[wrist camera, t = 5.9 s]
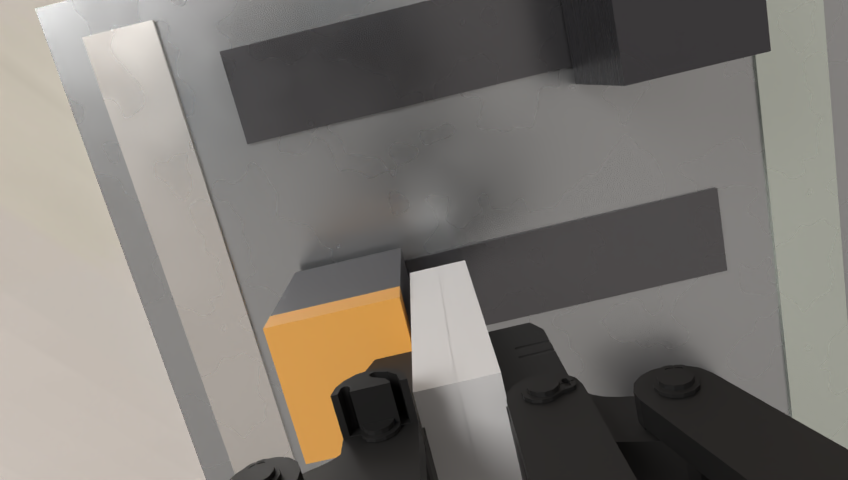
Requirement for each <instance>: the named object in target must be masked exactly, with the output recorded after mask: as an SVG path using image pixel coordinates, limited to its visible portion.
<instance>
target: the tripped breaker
mask: <svg viewBox="0 0 848 480" xmlns="http://www.w3.org/2000/svg"><path fill="white" fill-rule="evenodd" d="M263 331H264V334H265V337H266V340H267V343H268V346H269V350H270V353H271V356H272V359H273V362H274V365H275V368H276V372H277V375H278V378H279V381H280V384H281V387H282V390H283V394H284V397H285V400H286V403H287V406H288V409H289V412H290V416H291V419H292V422H293V425H294V428H295V431H296V435H297V438H298V441H299V444H300V447H301V450H302V453H303V457H304V460H305V463H306V464H310V463H314V462H319V461H323V460H328V459H332V458H336V457H337V456H339V455H340V454H341V449H342V443H343V436H342V433H341V430H340V427H339V423H338V420H337V417H336V413H335V410H334V407H333V403H332V400H331V397H330V396H331V394H332V392H333V391H334V389H335V388H336V387H337V386H338V385H340V384H341V383H342V382H343V381H344V380H346V379H348V378H350V377H352V376H354V375H356V374H359V373H362V372H365V371H366V370H367V369H368V367H369V366H370V365H371V364H372V363H373V361H374V360H376V359H380V358H384V357H389V356H393V355H397V354H402V353H406V352H410V351H412V341H411V302H410V281H409V277H408V273H407V269H406V265H405V261H404V257H403V253H402V249H401V248H398V249H393V250H389V251H385V252H381V253H376V254H372V255H368V256H363V257H359V258H355V259H351V260H346V261H342V262H338V263H333V264H329V265H325V266H321V267H316V268H312V269H308V270H304V271H299V272H295V274H294V276H293V277H292V279H291V281H290V283H289V284H288V286H287V288H286V290H285V291H284V293H283V295H282V296H281V298H280V300H279V302H278V303H277V305H276V307H275V309H274V310H273V312H272V314H271V316H270V317H269V319H268V321H267V323H266V324H265V326H264V328H263Z"/></svg>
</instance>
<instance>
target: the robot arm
mask: <svg viewBox="0 0 848 480" xmlns="http://www.w3.org/2000/svg"><path fill="white" fill-rule="evenodd" d="M410 302H411V341H412V351H410V352H406V353H402V354H397V355H393V356H389V357H384V358H380V359H376V360H374V361H373V363H372V364H371V365H370V366H369V367H368V369H367V370H366V371H365V372H362V373H359V374H356V375H354V376H352V377H350V378H348V379H346V380H344V381H343V382H342V383H341V384H340V385H338V386H337V387H336V388H335V389H334V391H333V392H332V394H331V396H330V397H331V400H332V403H333V407H334V410H335V413H336V417H337V420H338V423H339V427H340V430H341V433H342V436H343V443H342V449H341V454H340V455H339V456H337V457H336V458H334V459H333V460H331V461H329V462H327V463H325V464H323V465H321V466H319V467H317V468H314V469H312V470H310V471H307V472H305V473H303V474H302V472H301V469H300V466H299V464H298V462H297V461H295V460H293V459H292V458H290V457H274V458H269V459H262V460H259V461H257V462H256V463H255V462H254V463H252V464H249V465H248V466H246V467H245V468H244V469H242V470H241V471H239V472H238V473H236V474H235V475H234V476H233V477H232V478H231V479H230V480H848V449H846V448H845V447H843V446H841V445H839V444H838V443H836V442H834V441H832V440H830V439H829V438H827V437H825V436H823V435H822V434H820V433H818V432H816V431H815V430H813V429H811V428H809V427H808V426H806V425H804V424H802V423H801V422H799V421H797V420H795V419H793V418H792V417H790V416H788V415H786V414H785V413H783V412H781V411H779V410H778V409H776V408H774V407H772V406H771V405H769V404H767V403H765V402H763V401H762V400H760V399H758V398H756V397H755V396H753V395H751V394H749V393H748V392H746V391H744V390H742V389H741V388H739V387H737V386H735V385H734V384H732V383H730V382H728V381H726V380H725V379H723V378H721V377H719V376H718V375H716V374H714V373H712V372H710V371H707V370H705V369H702V368H699V367H693V366H685V365H674V366H672V365H668V366H663V367H661V368H657V369H653V370H650V371H648V372H647V373H645V374H643V375H641V376H640V377H639V378H638V379H637V380H636V381H635V383H634V391H633V392H634V396H625V397H604V396H598V395H592V394H589V393H588V392H587V390H586V389H585V387H584V385H583V384H582V383H581V382H580V381H579V380H578V379H577V378H575V377H573V376H570V375H568V373H567V372H566V370H565V368H564V366H563V364H562V362H561V361H560V359H559V357H558V355H557V353H556V351H554V348H553V346H552V344H551V342H550V341H549V338H548V336H547V335H546V333H545V331H544V329H542V328H540V327H538V326H536V325H534V324H532V323H530V322H529V323H525V324H520V325H516V326H512V327H507V328H503V329H499V330H494V331H490V332H488V330H487V327H486V324H485V321H484V318H483V315H482V312H481V309H480V306H479V302H478V299H477V296H476V293H475V290H474V287H473V284H472V281H471V277H470V274H469V271H468V268H467V265H466V262H465V260H463V261H459V262H455V263H450V264H446V265H442V266H438V267H433V268H429V269H425V270H420V271H416V272H412V273H410Z"/></svg>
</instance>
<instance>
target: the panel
mask: <svg viewBox="0 0 848 480" xmlns="http://www.w3.org/2000/svg"><path fill="white" fill-rule="evenodd" d="M35 10H36V13H37V16H38V19H39V21H40V24H41V27H42V30H43V32H44V35H45V38H46V41H47V43H48V46H49V49H50V52H51V54H52V57H53V60H54V63H55V65H56V68H57V71H58V74H59V76H60V79H61V82H62V85H63V87H64V90H65V93H66V96H67V98H68V101H69V104H70V107H71V109H72V112H73V115H74V118H75V120H76V123H77V126H78V129H79V131H80V134H81V137H82V140H83V142H84V145H85V148H86V150H87V153H88V156H89V159H90V161H91V164H92V167H93V170H94V172H95V175H96V178H97V181H98V183H99V186H100V189H101V192H102V194H103V197H104V200H105V203H106V205H107V208H108V211H109V214H110V216H111V219H112V222H113V225H114V227H115V230H116V233H117V236H118V238H119V241H120V244H121V247H122V249H123V252H124V255H125V258H126V260H127V263H128V266H129V269H130V271H131V274H132V277H133V280H134V282H135V285H136V288H137V291H138V293H139V296H140V299H141V302H142V304H143V307H144V310H145V313H146V315H147V318H148V321H149V324H150V326H151V329H152V332H153V335H154V337H155V340H156V343H157V346H158V348H159V351H160V354H161V357H162V359H163V362H164V365H165V368H166V370H167V373H168V376H169V379H170V381H171V384H172V387H173V390H174V392H175V395H176V398H177V401H178V403H179V406H180V409H181V412H182V414H183V417H184V420H185V423H186V425H187V428H188V431H189V434H190V436H191V439H192V442H193V445H194V447H195V450H196V453H197V456H198V458H199V461H200V464H201V467H202V469H203V472H204V475H205V478H206V480H230V479H231V478H232V477H233V476H234V475H235V474H236V473H238V472H239V471H241V470H242V469H244V468H245V467H246V466H248V465H249V464H252V463H254V462H255V463H256V462H257V461H259V460H262V459H269V458H274V457H290V458H292V459H293V460H295V461H297V462H298V464H299V466H300V469H301V472H302V474H303V473H305V472H307V471H310V470H312V469H314V468H317V467H319V466H321V465H323V464H325V463H327V462H329V461H331V460H333V459H334V458H332V459H328V460H323V461H319V462H314V463H310V464H306V463H305V460H304V457H303V453H302V450H301V447H300V444H299V441H298V438H297V435H296V431H295V428H294V425H293V422H292V419H291V416H290V412H289V409H288V406H287V403H286V400H285V397H284V394H283V390H282V387H281V384H280V381H279V378H278V375H277V372H276V368H275V365H274V362H273V359H272V356H271V353H270V350H269V346H268V343H267V340H266V337H265V334H264V331H263V328H264V326H265V324H266V323H267V321H268V319H269V317H270V316H271V314H272V312H273V310H274V309H275V307H276V305H277V303H278V302H279V300H280V298H281V296H282V295H283V293H284V291H285V290H286V288H287V286H288V284H289V283H290V281H291V279H292V277H293V276H294V274H295V272H299V271H304V270H308V269H312V268H316V267H321V266H325V265H329V264H333V263H338V262H342V261H346V260H351V259H355V258H359V257H363V256H368V255H372V254H376V253H381V252H385V251H389V250H393V249H398V248H401V249H402V253H403V257H404V261H405V265H406V269H407V273H408V277H409V281H410V273H412V272H416V271H420V270H425V269H429V268H433V267H438V266H442V265H446V264H450V263H455V262H459V261H463V260H465V262H466V265H467V268H468V271H469V274H470V277H471V281H472V284H473V287H474V290H475V293H476V296H477V299H478V302H479V306H480V309H481V312H482V315H483V318H484V321H485V324H486V327H487V330H488V332H490V331H494V330H499V329H503V328H507V327H512V326H516V325H520V324H525V323H529V322H530V323H532V324H534V325H536V326H538V327H540V328H542V329H544V331H545V333H546V335H547V336H548V338H549V341H550V342H551V344H552V346H553V348H554V351H556V353H557V355H558V357H559V359H560V361H561V362H562V364H563V366H564V368H565V370H566V372H567V373H568V375H570V376H573V377H575V378H577V379H578V380H579V381H580V382H581V383H582V384H583V385H584V387H585V389H586V390H587V392H588V393H589V394H592V395H598V396H604V397H625V396H634V392H633V391H634V383H635V381H636V380H637V379H638V378H639V377H640V376H641V375H643V374H645V373H647V372H648V371H650V370H653V369H657V368H661V367H663V366H668V365H672V366H674V365H685V366H693V367H699V368H702V369H705V370H707V371H710V372H712V373H714V374H716V375H718V376H719V377H721V378H723V379H725V380H726V381H728V382H730V383H732V384H734V385H735V386H737V387H739V388H741V389H742V390H744V391H746V392H748V393H749V394H751V395H753V396H755V397H756V398H758V399H760V400H762V401H763V402H765V403H767V404H769V405H771V406H772V407H774V408H776V409H778V410H779V411H781V412H783V413H785V414H786V415H788V416H790V417H792V418H793V419H795V420H797V421H799V422H801V423H802V424H804V425H806V426H808V427H809V428H811V429H813V430H815V431H816V432H818V433H820V434H822V435H823V436H825V437H827V438H829V439H830V440H832V441H834V442H836V443H838V444H839V445H841V446H843V447H845V448H846V449H848V0H67V1H63V2H59V3H55V4H51V5H47V6H43V7H39V8H35Z"/></svg>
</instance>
